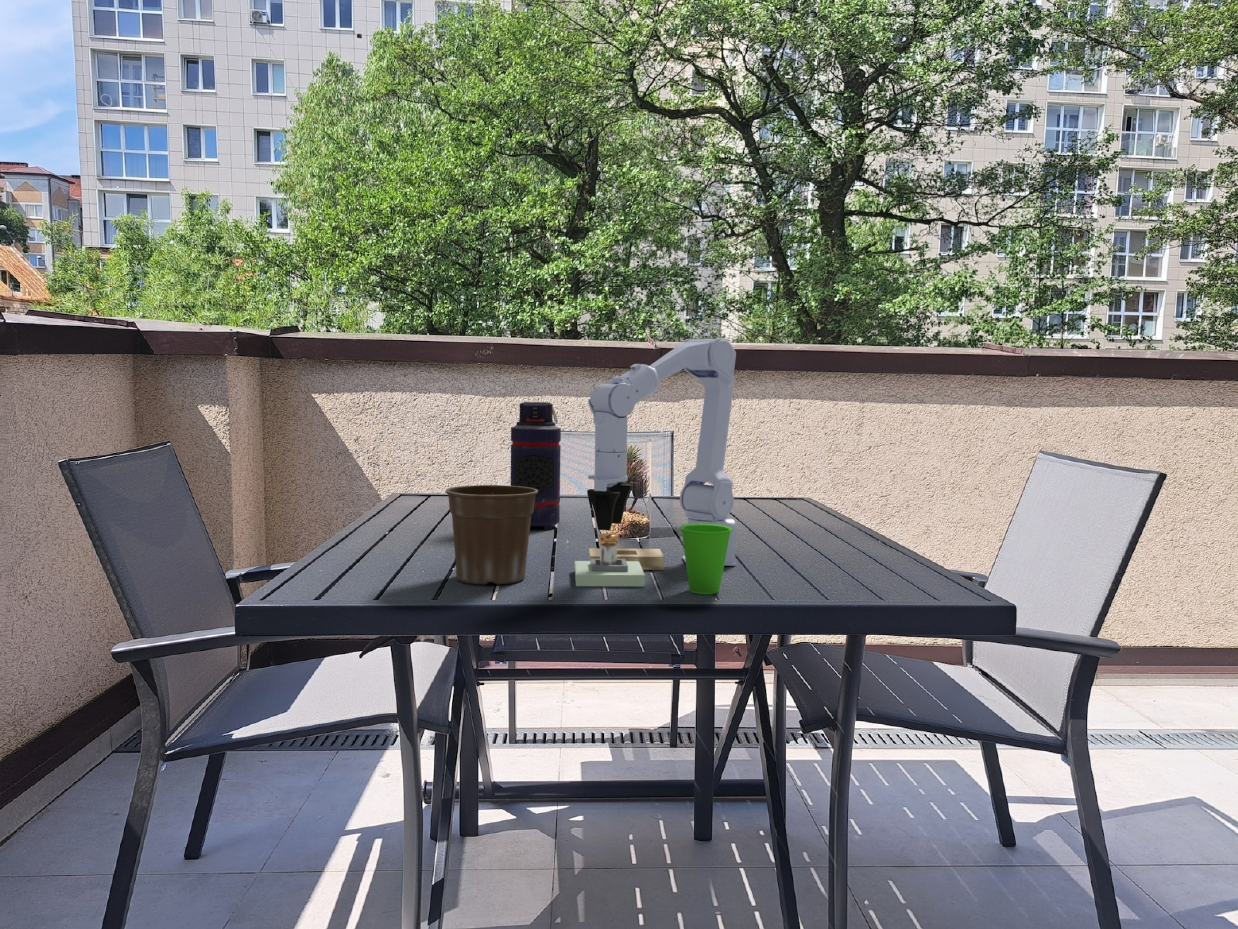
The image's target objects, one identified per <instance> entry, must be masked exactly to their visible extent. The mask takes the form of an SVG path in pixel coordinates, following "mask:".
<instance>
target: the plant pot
mask: <svg viewBox="0 0 1238 929" xmlns="http://www.w3.org/2000/svg"><path fill="white" fill-rule="evenodd" d="M445 493H446V494H447V496H448V504H449V505H448V506H449V513H450V514H451V519H452V520H451V521H452V531H453V542H454V543H453V544H454V556H455V557H454V558H455V570H456V571H455V572H456V573H455V574H456V578H457V580H459V581H460V582H463V583H466V584H471V585H488V583H493V584H495V585H506V584H508V585H509V584H516V583H518V582H521V581H523V580H524V579H525V578H526V573H527V572H526V571H527V559H528V550H529V549H528V548H529V539H530V533H531V532H530V531H531V530H530V529H531V526H530V522H531V514H532V513H533V510H534V501H535V495H536V494H537V493H538V490H537V489H534V488H529V487H521V486H511V485H504V484H503V485H501V484H498V485H497V484H482V485H480V484H477V485H475V484H473V485H463V486H462V485H461V486H459V485H457V486H452V487H448V488H446V489H445Z"/></svg>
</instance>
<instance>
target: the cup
mask: <svg viewBox="0 0 1238 929" xmlns="http://www.w3.org/2000/svg"><path fill="white" fill-rule="evenodd" d="M679 529H680V530H681V534H682V542H683V551H684V556H685V560H686V562H685V566H686V568H685V569H686V575H687V582H688V583H687V584H688V588H689V590H690V592H691V593H694V594H700V595H713V594H717V593H719V591H720V588H721V583H722V579H723V573H724V568H725V566H724V564H725V558H726V553H727V548H728V542H729V537H730V532H731V531H733V530H732V528H731V527H729V526H725V525H718V524H701V523H699V524H688V523H687V524H682V525H680V526H679Z"/></svg>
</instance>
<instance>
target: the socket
mask: <svg viewBox="0 0 1238 929" xmlns="http://www.w3.org/2000/svg"><path fill="white" fill-rule="evenodd" d="M574 579H575V587H645V586H646V574H645V572H644V570H643V569H642V567H641V565H640V563H639V561H626V560H625V559H617V563H616V565H600V559H590V561H589V560H575V561H574Z"/></svg>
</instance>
